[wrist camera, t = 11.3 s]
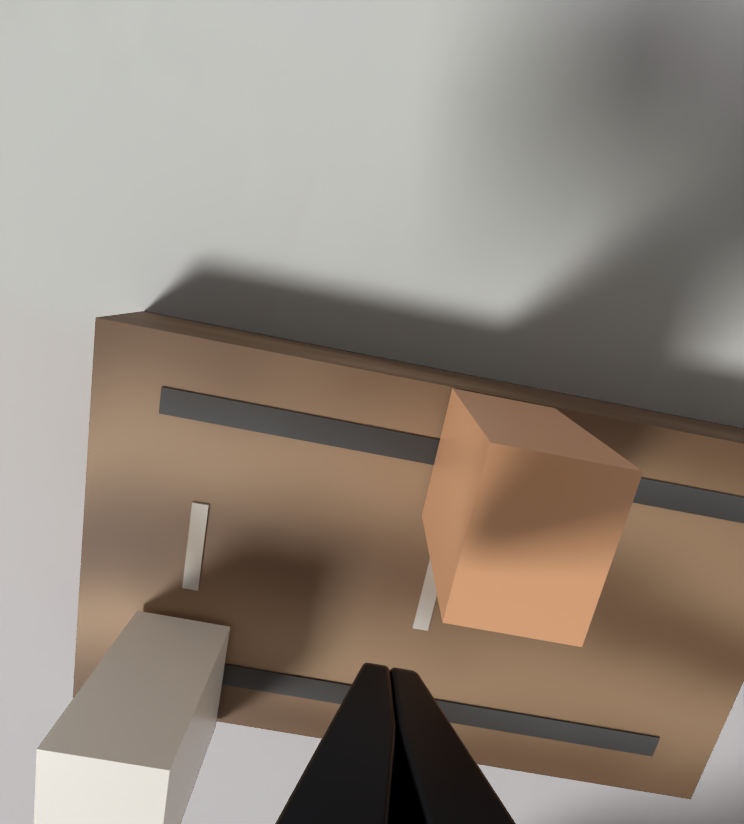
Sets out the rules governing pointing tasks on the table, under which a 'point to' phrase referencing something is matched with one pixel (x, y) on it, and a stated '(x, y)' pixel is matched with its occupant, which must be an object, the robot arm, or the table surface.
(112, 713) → the block
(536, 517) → the terracotta fader
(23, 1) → the table surface
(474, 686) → the board
